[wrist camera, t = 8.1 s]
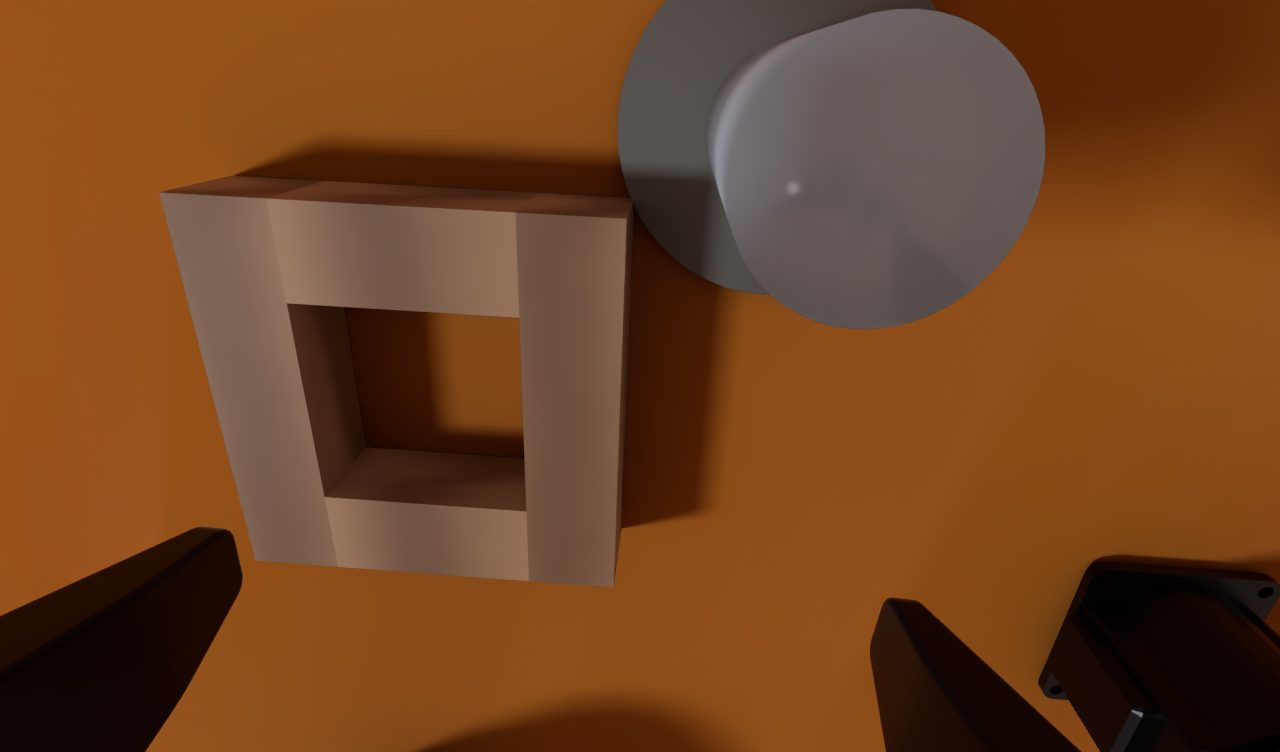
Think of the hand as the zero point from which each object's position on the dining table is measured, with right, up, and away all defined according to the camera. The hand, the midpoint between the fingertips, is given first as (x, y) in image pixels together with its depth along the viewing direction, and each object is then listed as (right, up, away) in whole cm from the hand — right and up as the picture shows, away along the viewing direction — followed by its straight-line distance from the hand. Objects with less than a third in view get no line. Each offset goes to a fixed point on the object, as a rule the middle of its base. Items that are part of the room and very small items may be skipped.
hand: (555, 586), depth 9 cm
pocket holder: (-5, +3, +13) cm, 14 cm away
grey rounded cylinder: (+5, +9, +8) cm, 14 cm away
